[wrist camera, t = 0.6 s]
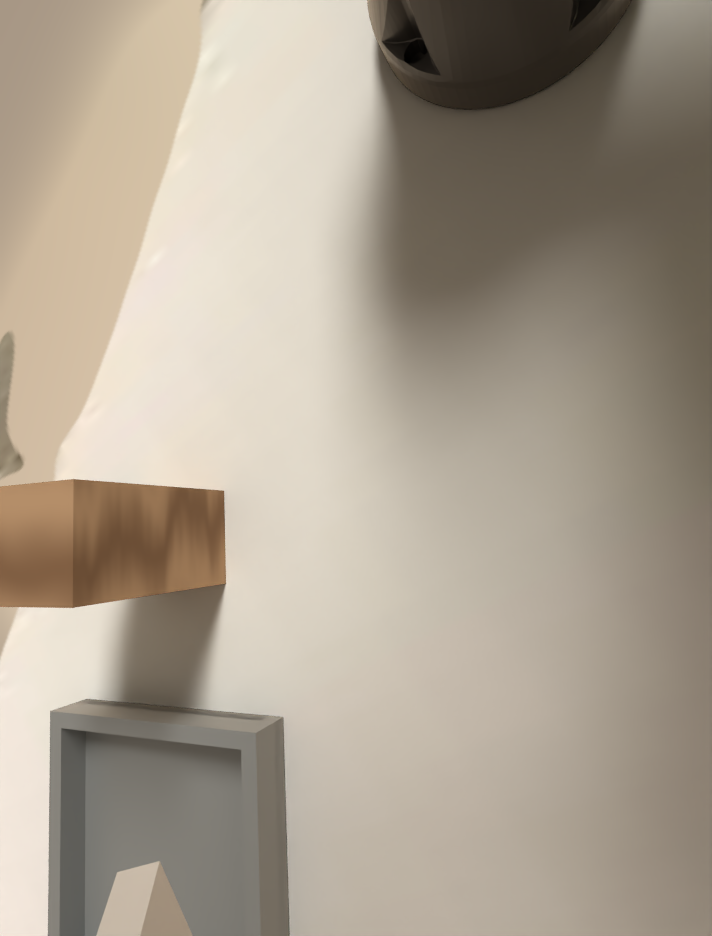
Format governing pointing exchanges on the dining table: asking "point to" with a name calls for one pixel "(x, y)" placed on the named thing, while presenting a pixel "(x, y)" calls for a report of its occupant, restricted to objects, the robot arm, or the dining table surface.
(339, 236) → the dining table surface
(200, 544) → the block
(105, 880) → the tray
